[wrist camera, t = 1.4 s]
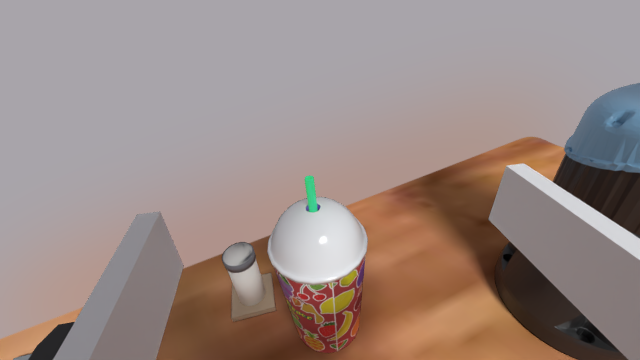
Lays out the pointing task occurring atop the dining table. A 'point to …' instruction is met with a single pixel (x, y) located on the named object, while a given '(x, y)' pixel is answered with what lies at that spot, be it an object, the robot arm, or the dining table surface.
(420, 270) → the dining table surface
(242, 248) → the post
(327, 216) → the smoothie
